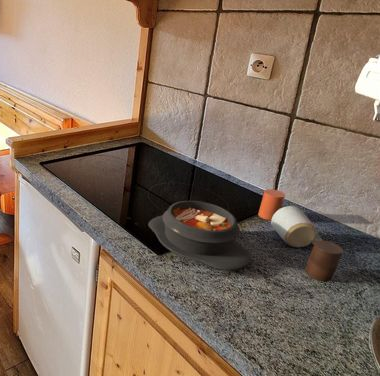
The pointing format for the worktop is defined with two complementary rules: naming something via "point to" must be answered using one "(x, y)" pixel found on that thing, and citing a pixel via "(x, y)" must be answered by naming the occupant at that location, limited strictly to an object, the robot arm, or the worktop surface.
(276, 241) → the worktop surface
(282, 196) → the terracotta post
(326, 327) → the worktop surface
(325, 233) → the worktop surface
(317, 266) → the walnut post
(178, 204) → the casserole
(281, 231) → the ceramic mug
